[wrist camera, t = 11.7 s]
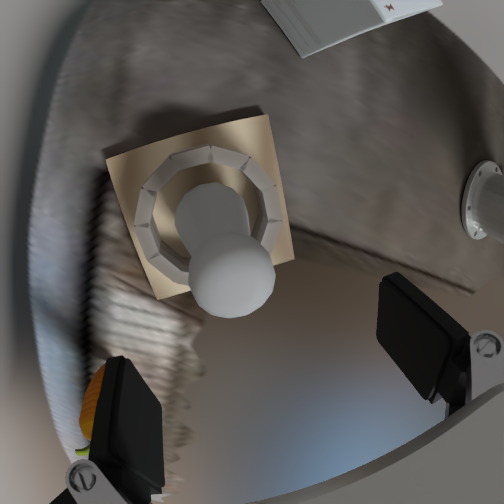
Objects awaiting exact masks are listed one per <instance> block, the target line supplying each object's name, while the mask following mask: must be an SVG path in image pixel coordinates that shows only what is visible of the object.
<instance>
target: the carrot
mask: <svg viewBox="0 0 504 504" xmlns="http://www.w3.org/2000/svg"><path fill="white" fill-rule="evenodd" d="M105 365H106V363H105V364H104V365H103V366H102V367H100V369H99V370H98V371H97V372H96V373H95V375H94V377H93V379H92V380H91V382H90V384H89V387H88V389H87V391H86V394H85V398H84V401H83V405H82V409H81V414H80V419H79V424H80V428H81V430H82V433H83V435H84V436H85V438H87V439H89V440H90V441H91V435H92V428H93V422H94V416H95V410H96V404H97V400H98V397H99V394H100V389H101V384H102V379H103V374H104V370H105ZM89 450H90V445H88V446H87V447H85V448H83V449H75V451H76V453H77V455H81V456H83V455H87V454H89Z"/></svg>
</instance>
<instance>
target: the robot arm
mask: <svg viewBox="0 0 504 504" xmlns="http://www.w3.org/2000/svg"><path fill="white" fill-rule="evenodd" d="M462 223H463V227H464V230H465V232H466V233H467V234H468V235H469V236H470V237H472V238H474V239H482V238H484V237H485V236H486V235H489V236H491V237H493V238H494V239H496V240H498V241H500V242H502V243H503V244H504V176H503V175H502V173H501V170H500V168H499V167H498V165H497V164H496V163H494V162H492V161H488V160H485V161H482V162H480V163H478V165H477V166H476V167H475V168H474V169H473V171H472V172H471V174H470V176H469V178H468V181H467V183H466V186H465V190H464V194H463V200H462ZM468 334H469V332H467V331H466V330H465V329H464V328H463V327H462V326H461V325H460V324H459V323H457V321H455V320H454V319H453V318H452V317H451V316H450V315H449V314H448V313H446V312H445V311H444V310H443V309H442V308H441V307H439V306H438V305H437V304H436V303H435V302H434V301H432V300H431V299H430V298H429V297H428V296H426V295H425V294H424V293H423V292H422V291H421V290H419V289H418V288H417V287H416V286H415V285H413V284H412V283H411V282H410V281H409V280H407V279H406V278H405V277H404V276H402V275H401V274H400V273H398V272H394V273H392V274H389V275H387V276H384V277H383V279H382V282H380V284H379V303H378V318H377V330H376V336H377V340H378V342H379V343H380V344H381V346H382V347H383V348H384V349H385V351H386V352H387V353H388V354H389V356H390V357H391V358H392V359H393V361H394V362H395V363H396V364H397V366H398V367H399V368H400V369H401V371H402V372H403V373H404V374H405V376H406V377H407V378H408V380H409V381H410V382H411V383H412V385H413V386H414V387H415V389H416V390H417V391H418V393H419V394H420V395H421V396H422V397H423V399H425V400H429V401H430V403H431V404H433V403H435V402H436V401H438V400H439V399H441V398H443V399H444V400H445V401H446V408H445V418H444V420H443V421H442V422H440V423H438V424H437V425H435V426H434V427H432V428H431V429H429V430H427V431H426V432H424V433H423V434H421V435H419V436H418V437H416V438H414V439H413V440H411V441H409V442H407V443H406V444H404V445H402V446H400V447H399V448H397V449H395V450H393V451H391V452H389V453H387V454H385V455H383V456H381V457H379V458H377V459H375V460H373V461H371V462H369V463H367V464H365V465H362V466H360V467H358V468H356V469H353V470H351V471H349V472H347V473H344V474H342V475H339V476H337V477H334V478H331V479H329V480H326V481H323V482H321V483H318V484H315V485H312V486H309V487H306V488H303V489H300V490H297V491H293V492H290V493H287V494H283V495H280V496H276V497H272V498H268V499H264V500H260V501H256V502H251V503H247V504H504V342H503V340H502V339H501V337H500V336H499V335H497V334H496V333H494V332H492V331H487V330H483V331H479V332H476V333H475V334H474V335H473V336H472V338H471V337H470V336H469V335H468ZM65 478H66V485H67V488H66V489H65V490H64V491H63V492H62V493H61V494H60V495H59V496H57V497H56V498H55V499H54V500H53V501H52V502H51V503H50V504H152V503H151V494H162V489H161V487H164V485H165V477H164V460H163V437H162V407H161V404H160V402H159V401H158V399H157V398H156V396H155V395H154V394H153V392H152V391H151V390H150V388H149V387H148V385H147V384H146V383H145V381H144V380H143V378H142V377H141V375H140V374H139V372H138V371H137V369H136V368H135V366H134V365H133V363H132V362H131V360H130V359H128V358H127V359H126V358H125V357H124V356H117V357H112V358H108V359H107V361H106V365H105V370H104V374H103V379H102V384H101V389H100V394H99V397H98V400H97V404H96V410H95V416H94V422H93V428H92V435H91V442H90V450H89V459H88V460H85V459H82V460H78V461H76V462H74V463H73V464H72V465H71V466H70V467H69V468H68V470H67V472H66V477H65Z"/></svg>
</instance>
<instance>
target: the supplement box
mask: <svg viewBox="0 0 504 504" xmlns="http://www.w3.org/2000/svg"><path fill="white" fill-rule="evenodd" d="M260 2H261V3H262V4H263V6H264V7H265V8H266V9H267V11H268V12H269V13H270V15H271V16H272V17H273V19H274V20H275V21H276V23H277V24H278V25H279V27H280V28H281V29H282V31H283V32H284V33H285V35H286V36H287V38H288V39H289V40H290V42H291V43H292V45H293V46H294V48H295V49H296V51H297V52H298V54H299V55H300V57H301V58H304V57H307V56H309V55H311V54H314V53H316V52H318V51H321V50H323V49H325V48H328V47H330V46H333V45H335V44H337V43H340V42H342V41H345V40H347V39H349V38H352V37H354V36H357V35H359V34H362V33H364V32H367V31H370V30H372V29H375V28H378V27H381V26H383V25H386V24H389V23H392V22H395V21H398V20H401V19H404V18H407V17H410V16H413V15H416V14H418V13H421V12H424V11H427V10H430V9H433V8H436V7H439V6H442V5H443V3H442V1H441V0H261V1H260Z"/></svg>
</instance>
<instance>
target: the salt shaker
mask: <svg viewBox="0 0 504 504" xmlns="http://www.w3.org/2000/svg"><path fill="white" fill-rule="evenodd" d="M175 227H176V230H177V232H178V234H179V236H180V239H181V240H182V242H183V244H184V245H185V247H186V249H187V250H188V252H189V253H190V255H191V257H192V258H191V259H190V263H189V276H188V285H189V287H190V289H191V292H192V294H193V295H194V297H195V299H196V301H197V303H198V305H199V306H200V307H202V308H203V309H204V310H206V311H207V312H208V313H210V314H211V315H214V316H220V317H225V318H234V317H239V316H245V315H248V314H249V313H251V312H253V311H254V310H256V309H257V308H259V307H260V306H262V305H263V304H264V302H265V301H266V300H267V298H268V297H269V296H270V294H271V293H272V291H273V286H274V281H275V276H276V275H275V272H274V269H273V265H272V261H271V258H270V254H269V252H268V251H267V250H266V249H265V248H264V247H263V246H262V245H261V244H260V243H259V242H258V241H256V240H255V239H254V238H253V237H251V236H250V226H249V217H248V212H247V209H246V205H245V202H244V199H243V198H242V197H241V196H240V195H239V194H238V193H237V192H236V191H235V190H234V189H233V188H231V187H228V186H225V185H222V184H219V183H217V182H213V183H207V184H201V185H198V186H196V187H195V188H193V189H192V190H190V191H188V192H187V193H185V194H184V196H183V197H182V199H181V201H180V203H179V204H178V206H177V208H176V214H175Z"/></svg>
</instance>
